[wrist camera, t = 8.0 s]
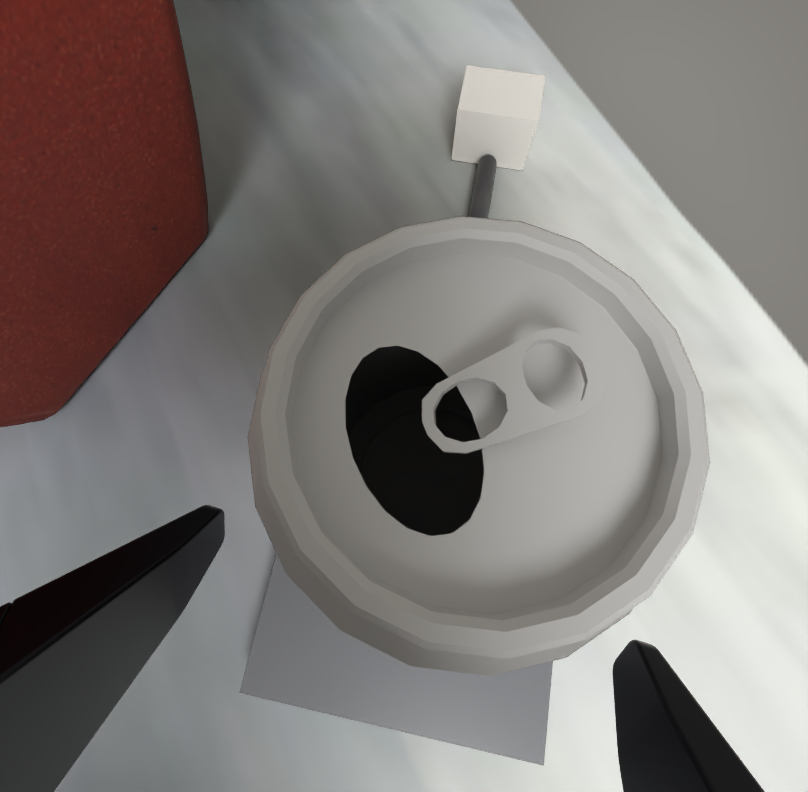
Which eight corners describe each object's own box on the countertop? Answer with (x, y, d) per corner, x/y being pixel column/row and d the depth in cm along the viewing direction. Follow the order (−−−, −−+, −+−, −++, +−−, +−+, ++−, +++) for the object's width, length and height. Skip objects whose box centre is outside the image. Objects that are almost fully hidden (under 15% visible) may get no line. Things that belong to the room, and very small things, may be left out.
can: (316, 428, 18) (148, 258, 6) (478, 368, 18) (599, 116, 7) (376, 610, 16) (294, 863, 4) (555, 535, 16) (906, 574, 5)
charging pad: (533, 747, 16) (562, 798, 13) (251, 680, 16) (217, 714, 13) (590, 138, 24) (615, 85, 21) (400, 110, 24) (399, 55, 22)
